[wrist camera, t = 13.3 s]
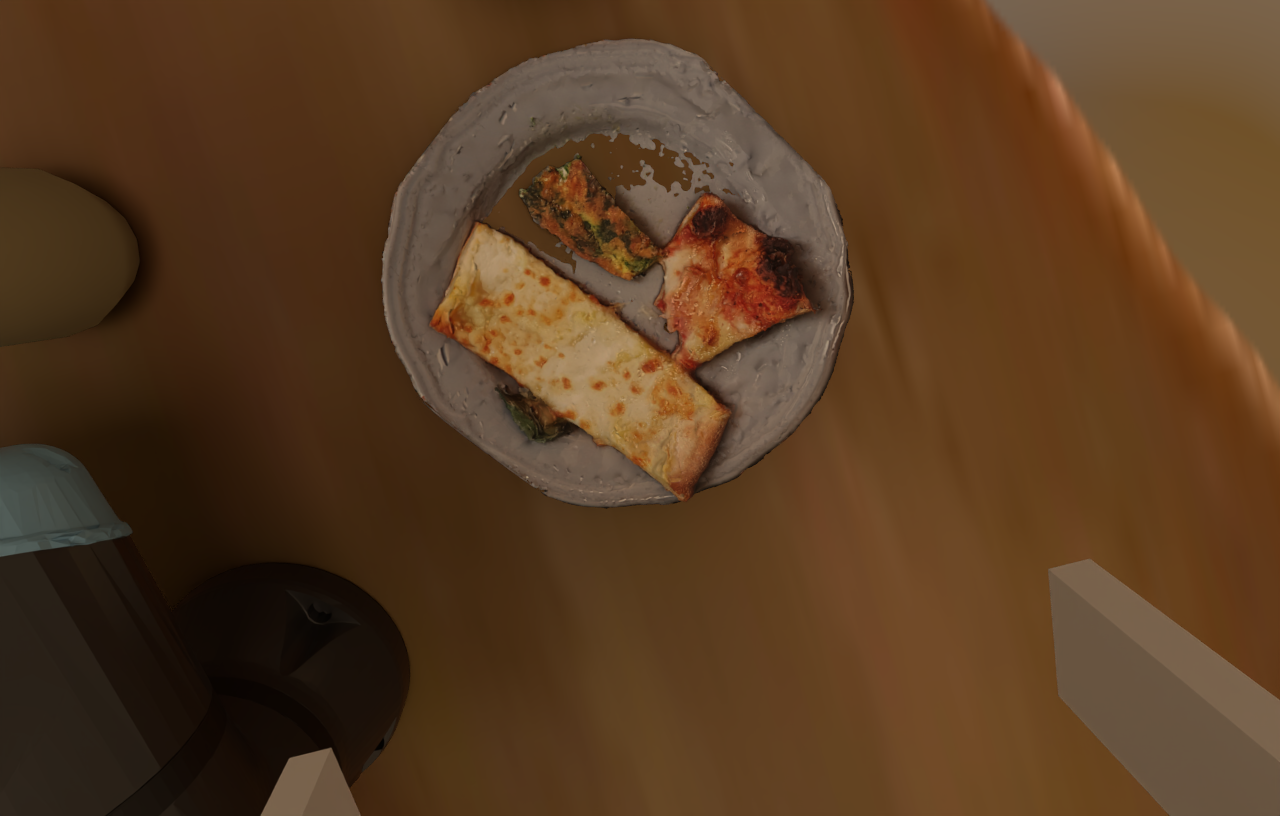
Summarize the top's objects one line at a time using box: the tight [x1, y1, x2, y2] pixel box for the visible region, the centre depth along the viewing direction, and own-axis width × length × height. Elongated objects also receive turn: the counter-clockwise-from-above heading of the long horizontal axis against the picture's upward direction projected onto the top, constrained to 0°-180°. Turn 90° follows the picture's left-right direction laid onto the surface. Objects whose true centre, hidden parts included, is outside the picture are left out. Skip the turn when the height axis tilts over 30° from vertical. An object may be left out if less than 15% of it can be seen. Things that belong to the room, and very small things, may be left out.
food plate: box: [381, 39, 854, 509], centre depth 42 cm, size 25×23×4 cm
